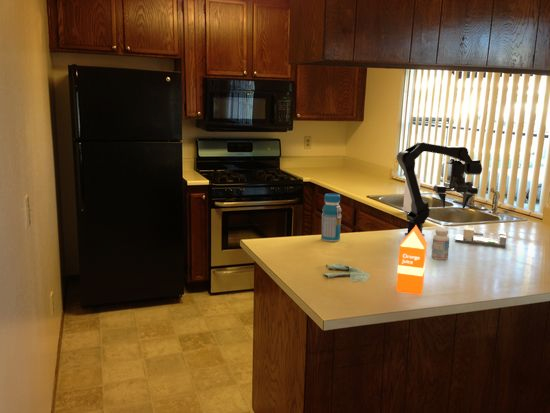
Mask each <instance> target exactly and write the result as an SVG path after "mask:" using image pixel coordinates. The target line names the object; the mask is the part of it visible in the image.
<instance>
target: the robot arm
mask: <svg viewBox="0 0 550 413" xmlns="http://www.w3.org/2000/svg"><path fill="white" fill-rule="evenodd" d="M423 152H426V153H427V152H428V153H433V154H434V153H435V154H440V155H445V156H447V157H450V158H451V159H450V160H448V161H447V162H446V164H447V165H451V167H450V175H449V176H448V178H449V183H448V184H447V186H445V185H443V184H442V185H441V184H435V185H434V186H433V189H432V190H433V192H435V193H436V194H437V196H438V198H439V200H440V203H441V206H442V208H443V209H445V206H446V196H447V193H446V192H456V193H459V194H462V203H461V204H462V206H461V207H462V209H466V208H465V207H466V206H467V204H468V201H469V200H470V199H471V198H472V197H474V196H475V195H478V193H479V189H478V187H476V186H473V182H472V181H467V182H466V181H465V180H466V179H465V178H466V177H465V174H466V175H470V176H472V175H473V176H475V175H476V176H477V175H478V176H479V175H481V174H482V172H483V166H482V163H481V160H480V159H472V158H471V156H470V154H469V150H468V148H467V147H465V146H459V145H450V146H444V145H439V144H432V143H428V142H427V143H426V142H424V141H417V142H416V143H414V145H412V146H409V147H408V148H406V149H404V150H401V151H399V152H398V154H397V155H396V160H397V163H398V164H399V166H400V168H401V169H402V171H403V173H404V176H405V177H404V178H405V179H406V181H407V185H408V188H409V192H410V196H411V199H412V203H411V212H410V213H409V214H408V213H407V214H406V216H405V217H406V220H407V221H408V222H407V232H404V235H406V236H407V235H408V234H409V233H410V232H411V231H412V229H413V228H414V227H415V226H417V227H418V229H419V231H420V232H421V234H422V236H423V237H424V236H425V234H424V233H423V225H424V224H425V222H426V220H427V219H428V218H429V216H430V212H431V209H430V208H429V202H428V201H425V200H423V198H422V193H421V189H420V190H419V186H418V182H417V178H416V175H415V174H416V171H415V168H416V159H417V158H418V157H420V156H421V154H422V153H423ZM455 159H456V160H455Z"/></svg>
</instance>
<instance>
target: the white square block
mask: <svg viewBox="0 0 550 413" xmlns="http://www.w3.org/2000/svg"><path fill="white" fill-rule="evenodd" d="M462 235H463V238H464V239H465V238H470V239H473V238H474V237H473V236H479V237H484V233H481V232H475V227H470V226H468V227H467V226H464V228H463V234H462Z"/></svg>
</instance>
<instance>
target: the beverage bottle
mask: <svg viewBox="0 0 550 413" xmlns="http://www.w3.org/2000/svg"><path fill="white" fill-rule="evenodd" d="M339 203H341V195H340V194H339V193H325V194H324V205H323V207H322V209H321V210H322V214H321V236H320V239H321V241H324V242H330V243H334V242H339V241H340V240H341V228H342V226H341V225H342V224H341V222H342V214H341V212H342V208H341V205H340V204H339Z"/></svg>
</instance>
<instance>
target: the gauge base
mask: <svg viewBox="0 0 550 413" xmlns="http://www.w3.org/2000/svg"><path fill="white" fill-rule="evenodd" d="M455 236H456V237H455V239H454V242H455V243H460V244H461V243H462V244H469V245H478V246H486V247H495V248H502V249H506V245H507V244H506V243H507V232H502V231H499V238H492V237H485V236H477V235H474V236H473V237H474V238H473V239H470V238H465V239H464V238H463V234H459V233H457V234H456V235H455Z"/></svg>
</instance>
